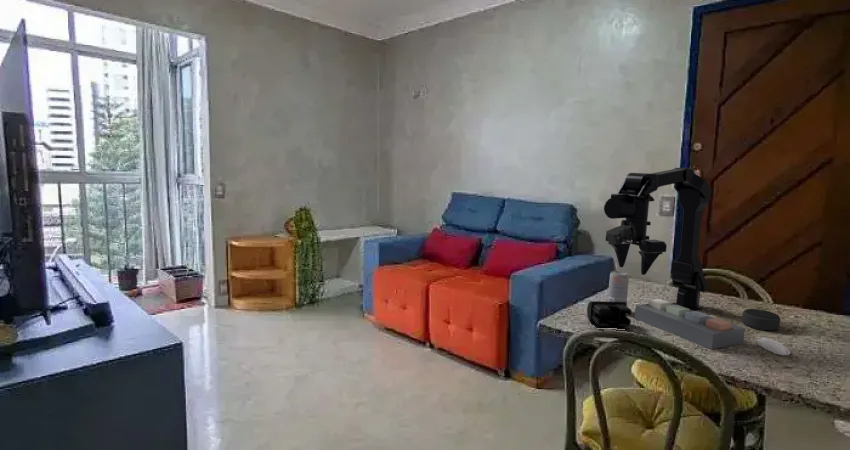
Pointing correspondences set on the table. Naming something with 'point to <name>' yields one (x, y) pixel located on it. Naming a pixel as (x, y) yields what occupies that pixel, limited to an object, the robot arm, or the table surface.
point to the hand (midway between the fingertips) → (632, 270)
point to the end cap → (609, 314)
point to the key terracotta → (718, 324)
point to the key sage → (677, 310)
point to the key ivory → (659, 303)
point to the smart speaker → (761, 319)
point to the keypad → (689, 328)
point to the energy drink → (618, 286)
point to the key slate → (696, 317)
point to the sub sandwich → (773, 346)
